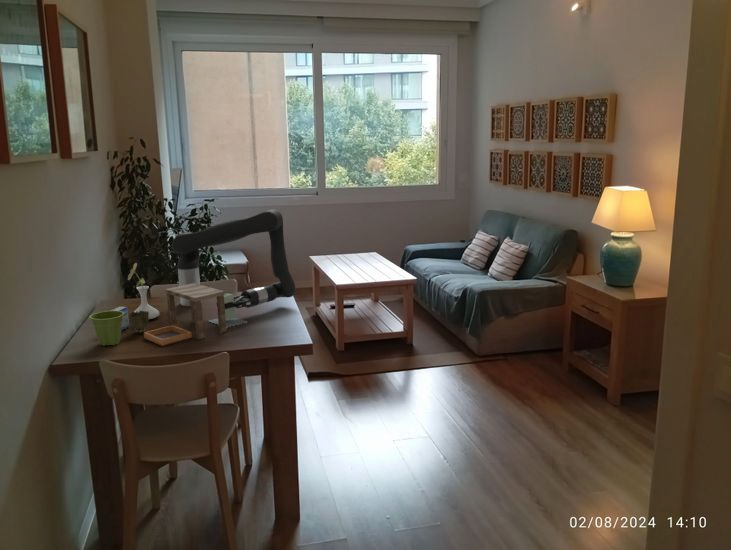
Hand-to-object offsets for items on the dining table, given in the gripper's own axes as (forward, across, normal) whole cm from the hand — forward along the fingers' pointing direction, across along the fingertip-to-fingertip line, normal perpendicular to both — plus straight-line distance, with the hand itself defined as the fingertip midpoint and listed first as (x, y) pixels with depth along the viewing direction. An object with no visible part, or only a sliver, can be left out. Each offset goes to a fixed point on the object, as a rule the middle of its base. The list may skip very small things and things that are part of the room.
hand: (220, 305), depth 245 cm
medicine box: (+31, -26, +8) cm, 42 cm away
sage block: (-3, 0, +6) cm, 7 cm away
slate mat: (-3, 0, +8) cm, 8 cm away
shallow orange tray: (+24, 0, +8) cm, 26 cm away
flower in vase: (+17, -32, +8) cm, 37 cm away
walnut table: (+11, 0, +8) cm, 14 cm away
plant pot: (+41, -12, +8) cm, 44 cm away
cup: (+27, -16, +8) cm, 33 cm away
